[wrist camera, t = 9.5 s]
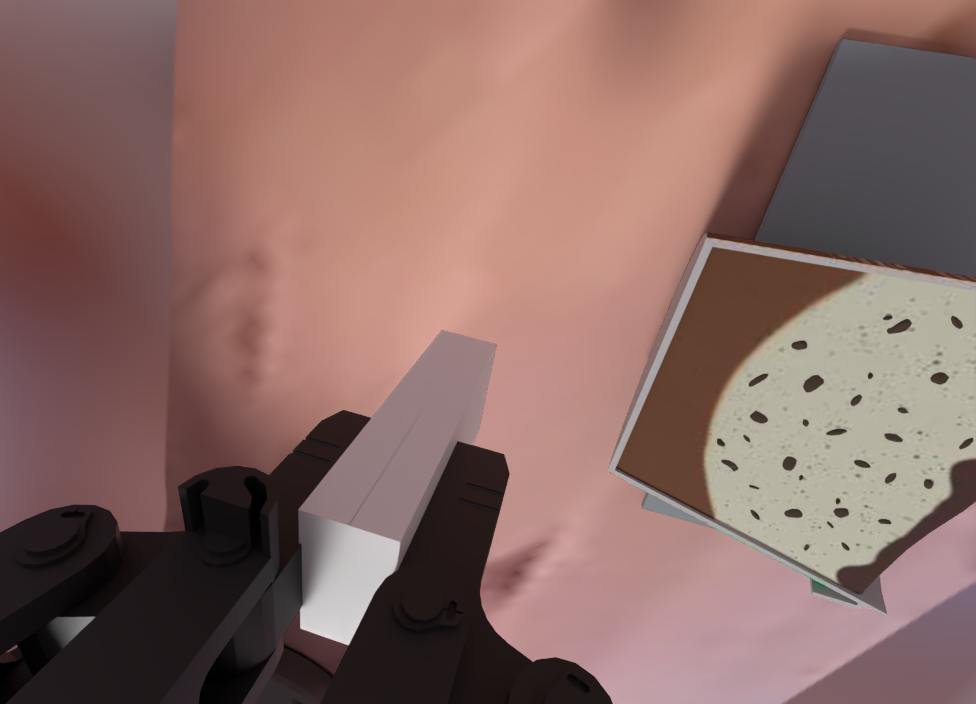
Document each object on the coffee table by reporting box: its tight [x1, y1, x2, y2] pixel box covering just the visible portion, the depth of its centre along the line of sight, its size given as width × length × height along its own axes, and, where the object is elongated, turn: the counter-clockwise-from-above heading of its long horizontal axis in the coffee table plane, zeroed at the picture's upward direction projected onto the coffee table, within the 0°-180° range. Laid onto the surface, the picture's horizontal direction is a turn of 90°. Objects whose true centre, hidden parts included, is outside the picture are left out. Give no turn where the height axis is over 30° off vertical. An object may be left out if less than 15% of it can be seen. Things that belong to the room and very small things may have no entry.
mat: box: [642, 39, 976, 529], centre depth 18 cm, size 11×20×1 cm, turn 171°
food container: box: [607, 233, 976, 616], centre depth 17 cm, size 12×6×10 cm
